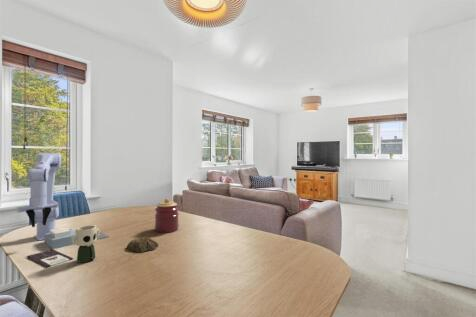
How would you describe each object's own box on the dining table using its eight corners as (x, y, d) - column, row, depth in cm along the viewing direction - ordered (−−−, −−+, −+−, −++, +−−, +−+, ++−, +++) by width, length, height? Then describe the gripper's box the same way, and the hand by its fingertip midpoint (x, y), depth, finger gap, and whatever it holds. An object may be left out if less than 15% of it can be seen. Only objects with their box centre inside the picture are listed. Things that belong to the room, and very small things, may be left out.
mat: (71, 235, 129) (71, 235, 129) (96, 230, 138) (96, 230, 138) (82, 242, 118) (82, 242, 118) (108, 236, 128) (108, 236, 128)
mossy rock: (123, 248, 113) (123, 237, 113) (149, 241, 122) (149, 231, 122) (136, 255, 104) (136, 243, 104) (163, 247, 113) (163, 237, 113)
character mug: (77, 267, 92) (77, 232, 92) (66, 263, 96) (66, 229, 96) (104, 256, 102) (104, 225, 102) (93, 253, 105) (93, 223, 105)
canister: (183, 228, 143) (183, 197, 143) (165, 234, 132) (165, 201, 132) (167, 225, 150) (167, 195, 150) (149, 230, 139) (149, 198, 139)
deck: (44, 242, 119) (44, 233, 119) (71, 236, 128) (71, 228, 128) (52, 249, 110) (52, 240, 110) (80, 242, 119) (80, 234, 119)
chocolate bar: (52, 249, 109) (73, 258, 100) (52, 251, 109) (73, 260, 100) (26, 256, 101) (46, 266, 92) (26, 258, 101) (46, 269, 92)
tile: (49, 234, 119) (49, 229, 119) (64, 231, 123) (64, 227, 123) (55, 238, 113) (55, 233, 113) (70, 235, 118) (70, 230, 118)
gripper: (19, 198, 104) (19, 231, 104) (60, 194, 115) (60, 223, 115) (16, 196, 108) (16, 227, 109) (56, 193, 120) (56, 221, 120)
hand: (38, 225), depth 112 cm, fingers open, 3 cm apart
